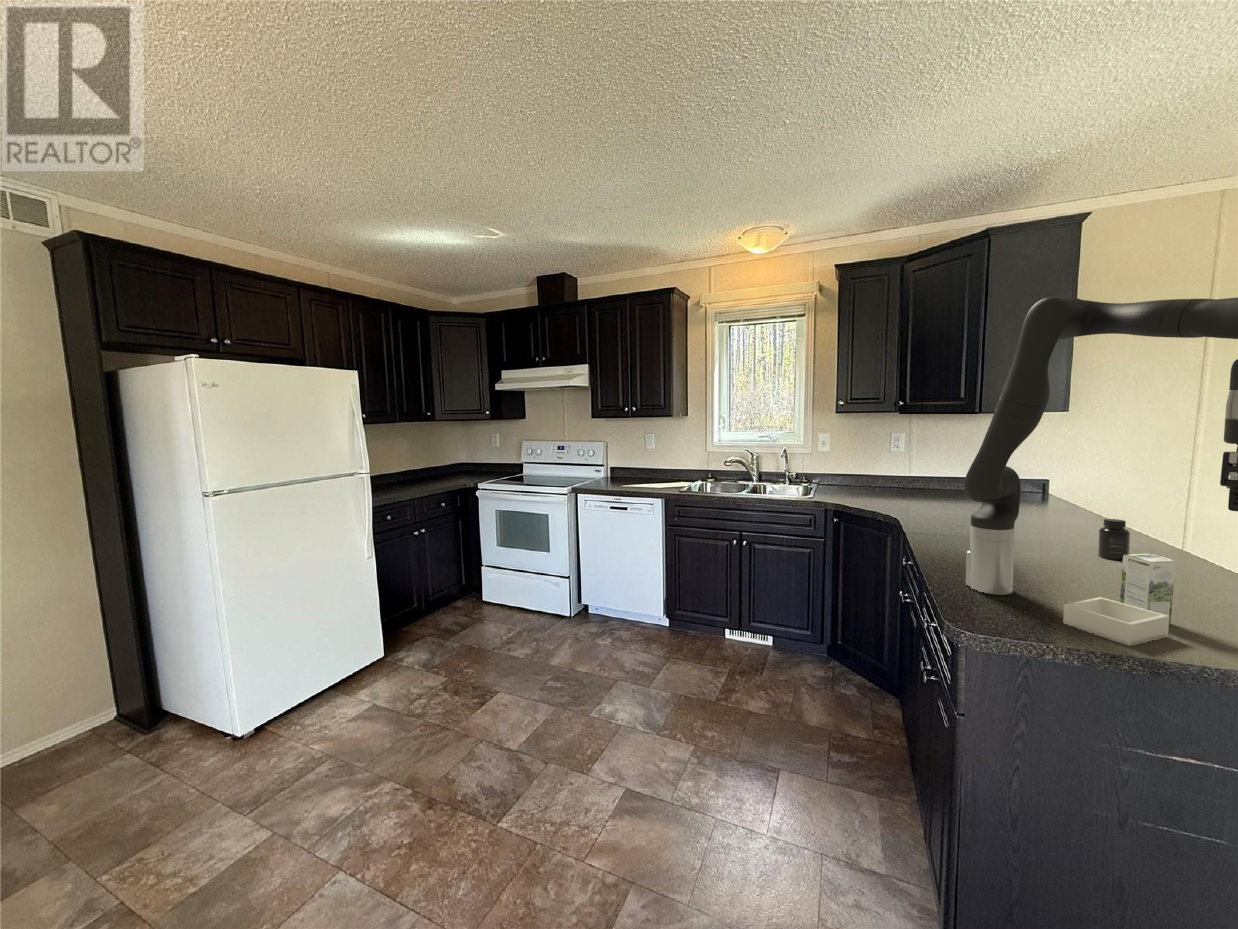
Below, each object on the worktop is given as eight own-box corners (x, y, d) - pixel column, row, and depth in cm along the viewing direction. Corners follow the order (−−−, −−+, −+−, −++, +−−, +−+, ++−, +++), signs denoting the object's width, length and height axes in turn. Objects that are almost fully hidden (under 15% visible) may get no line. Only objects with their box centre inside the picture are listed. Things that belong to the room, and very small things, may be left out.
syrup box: (1142, 614, 111) (1145, 552, 110) (1172, 624, 106) (1176, 559, 104) (1118, 615, 111) (1121, 553, 110) (1147, 626, 105) (1150, 560, 104)
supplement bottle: (1133, 559, 150) (1135, 520, 149) (1121, 562, 148) (1123, 523, 147) (1105, 553, 156) (1106, 517, 155) (1092, 556, 154) (1094, 519, 153)
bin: (1063, 623, 108) (1063, 604, 108) (1099, 616, 111) (1100, 597, 111) (1129, 646, 97) (1131, 624, 97) (1167, 637, 100) (1169, 615, 100)
